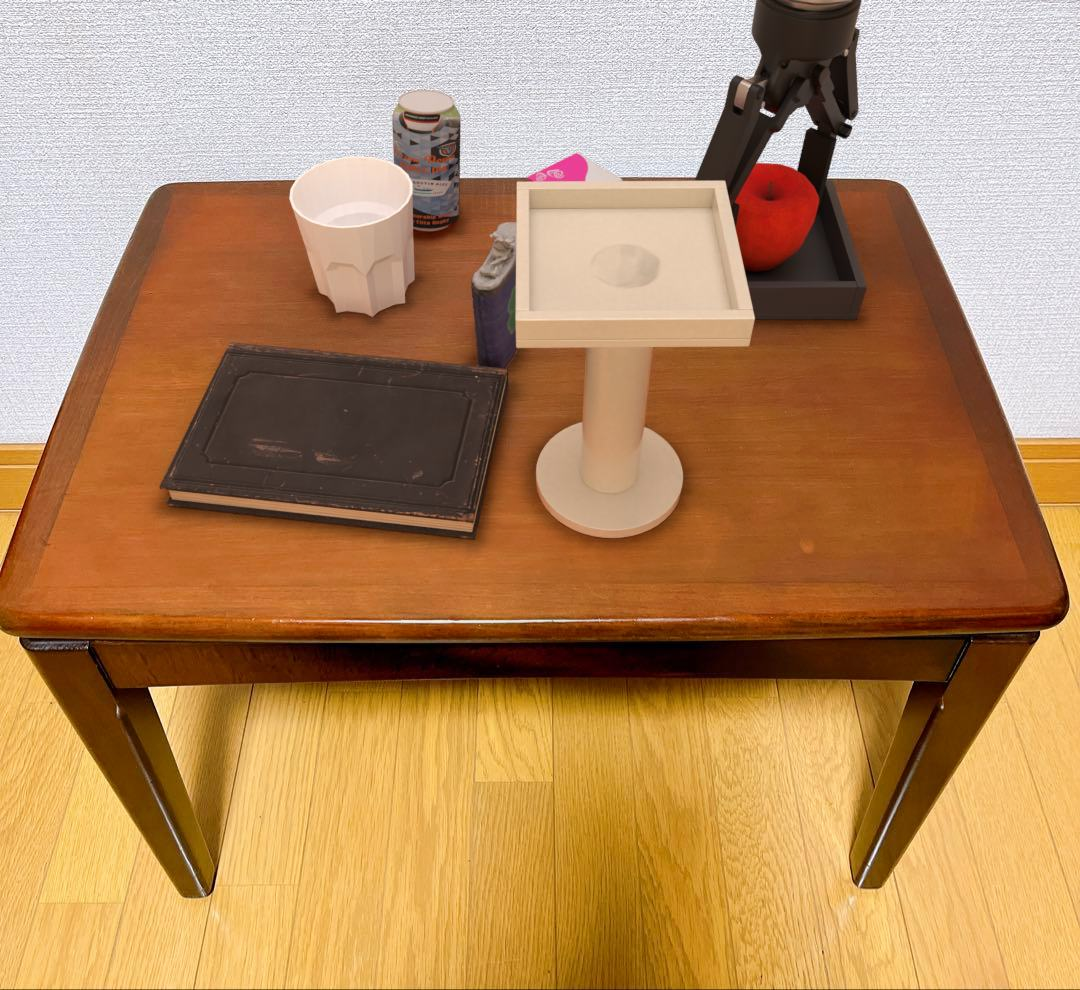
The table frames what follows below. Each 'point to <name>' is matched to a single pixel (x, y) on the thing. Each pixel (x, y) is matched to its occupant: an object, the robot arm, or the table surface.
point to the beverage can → (429, 155)
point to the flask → (496, 300)
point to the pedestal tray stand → (623, 328)
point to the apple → (774, 215)
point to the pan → (813, 273)
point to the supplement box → (573, 171)
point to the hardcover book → (342, 440)
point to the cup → (357, 231)
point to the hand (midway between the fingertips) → (761, 231)
